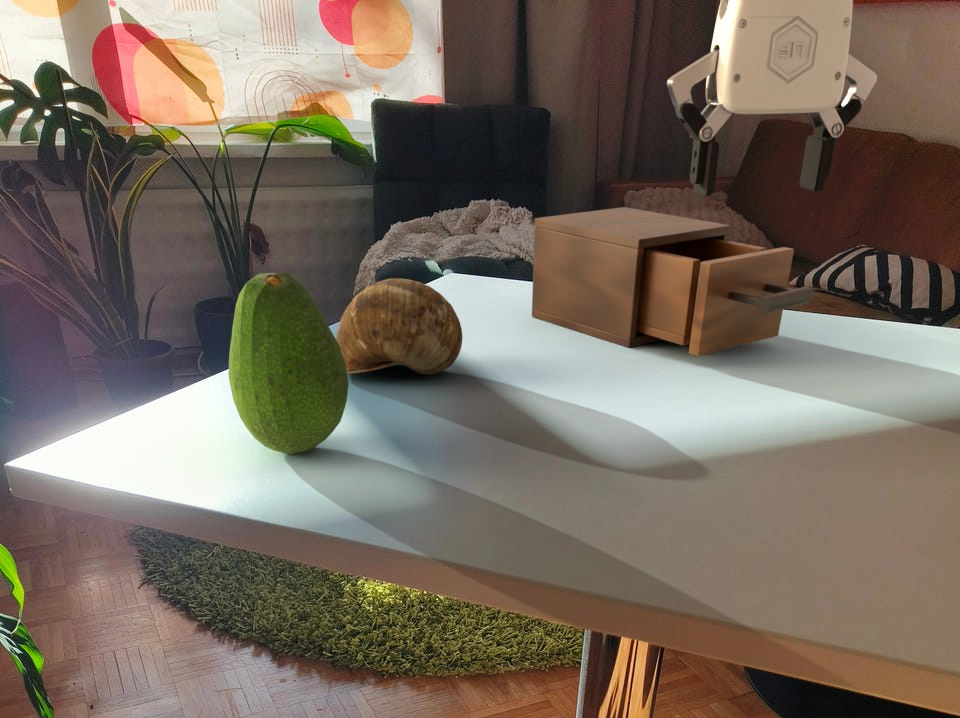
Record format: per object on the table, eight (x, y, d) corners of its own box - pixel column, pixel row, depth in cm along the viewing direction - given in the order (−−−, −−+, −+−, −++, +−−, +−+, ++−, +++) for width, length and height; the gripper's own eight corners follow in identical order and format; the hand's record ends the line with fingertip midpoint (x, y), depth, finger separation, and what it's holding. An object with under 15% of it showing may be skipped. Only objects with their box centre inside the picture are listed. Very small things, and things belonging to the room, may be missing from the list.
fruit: (375, 440, 65) (363, 265, 58) (315, 480, 59) (294, 290, 52) (283, 423, 68) (262, 255, 61) (217, 460, 62) (185, 278, 55)
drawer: (820, 347, 82) (839, 257, 78) (739, 369, 77) (755, 273, 72) (673, 308, 94) (683, 228, 90) (594, 325, 89) (600, 240, 84)
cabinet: (716, 327, 91) (731, 225, 86) (628, 347, 85) (639, 239, 80) (616, 300, 101) (624, 207, 96) (531, 316, 95) (534, 218, 90)
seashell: (478, 366, 80) (479, 272, 76) (435, 398, 73) (432, 296, 69) (368, 352, 84) (361, 261, 79) (316, 381, 77) (306, 283, 72)
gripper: (699, -68, 63) (673, 201, 72) (928, -68, 65) (874, 193, 74) (665, -57, 69) (646, 190, 78) (875, -57, 71) (831, 183, 80)
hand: (757, 191), depth 76 cm, fingers open, 9 cm apart
